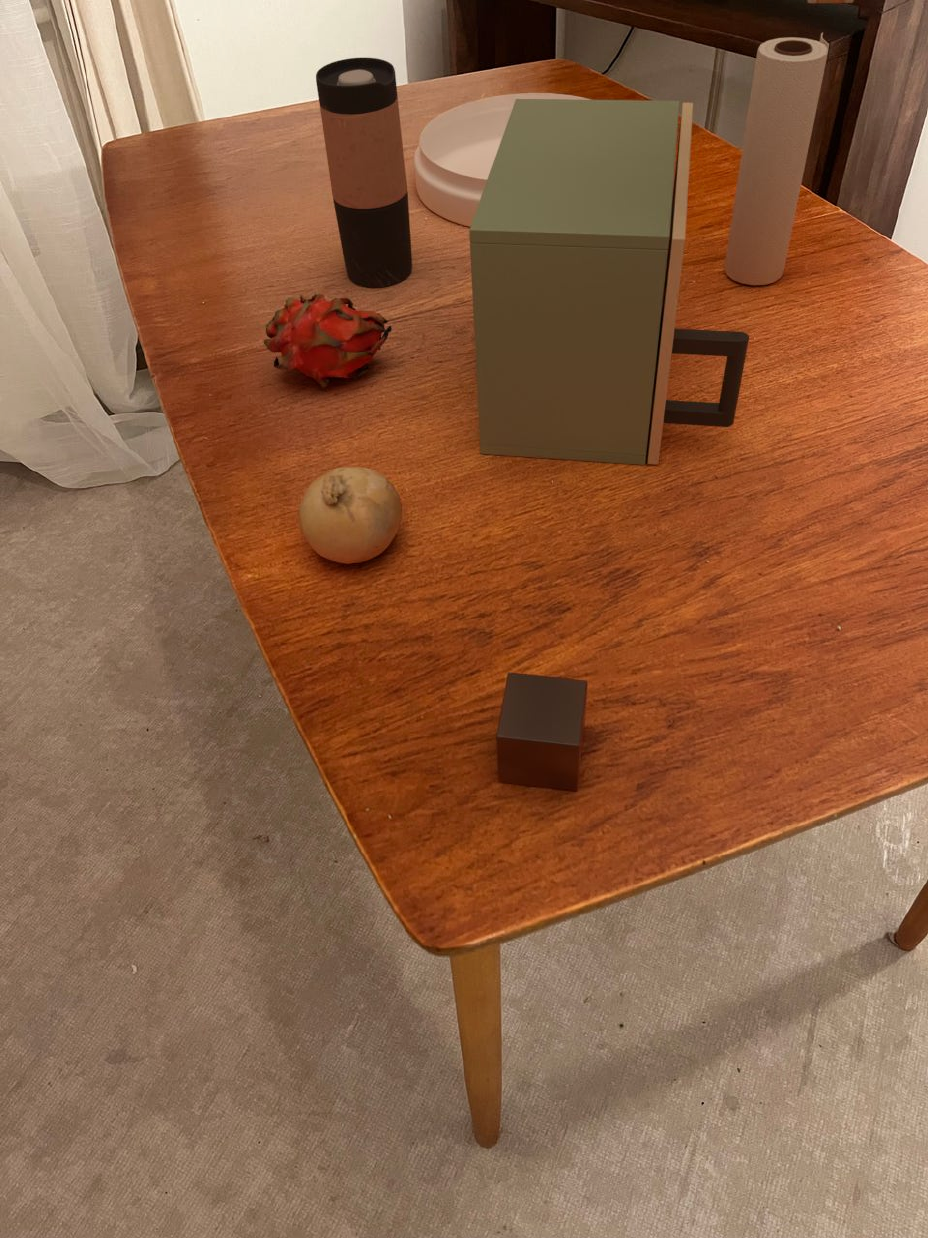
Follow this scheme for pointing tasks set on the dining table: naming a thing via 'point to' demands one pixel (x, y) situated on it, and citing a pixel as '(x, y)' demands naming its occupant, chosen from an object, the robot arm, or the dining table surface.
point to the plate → (464, 153)
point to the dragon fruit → (325, 337)
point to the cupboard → (572, 278)
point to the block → (541, 731)
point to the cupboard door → (689, 339)
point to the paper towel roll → (774, 156)
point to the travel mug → (367, 168)
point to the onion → (350, 514)
